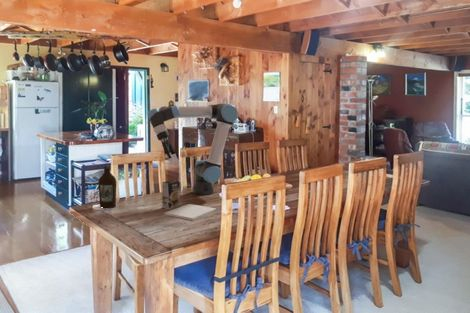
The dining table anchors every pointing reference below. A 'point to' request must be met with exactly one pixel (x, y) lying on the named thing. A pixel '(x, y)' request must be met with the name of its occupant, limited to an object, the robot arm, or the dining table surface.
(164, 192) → the coffee box
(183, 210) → the board
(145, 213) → the dining table surface
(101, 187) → the olive oil
